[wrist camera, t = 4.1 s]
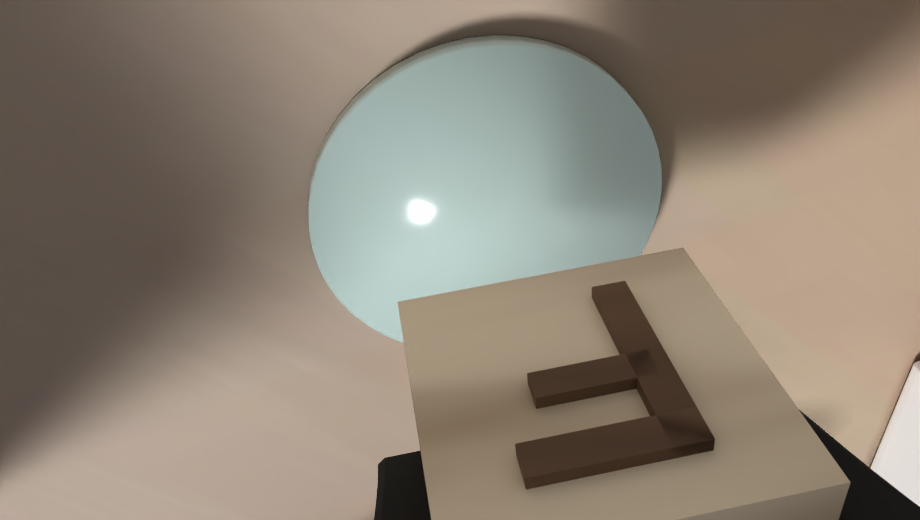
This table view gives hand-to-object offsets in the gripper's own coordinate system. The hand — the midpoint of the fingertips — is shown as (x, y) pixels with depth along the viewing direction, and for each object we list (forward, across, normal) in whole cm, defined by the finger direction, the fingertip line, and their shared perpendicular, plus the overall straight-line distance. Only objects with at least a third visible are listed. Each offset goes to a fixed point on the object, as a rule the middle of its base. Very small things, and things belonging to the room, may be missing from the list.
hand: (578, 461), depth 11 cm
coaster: (+7, 0, 0) cm, 7 cm away
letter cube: (+2, 0, 0) cm, 2 cm away
